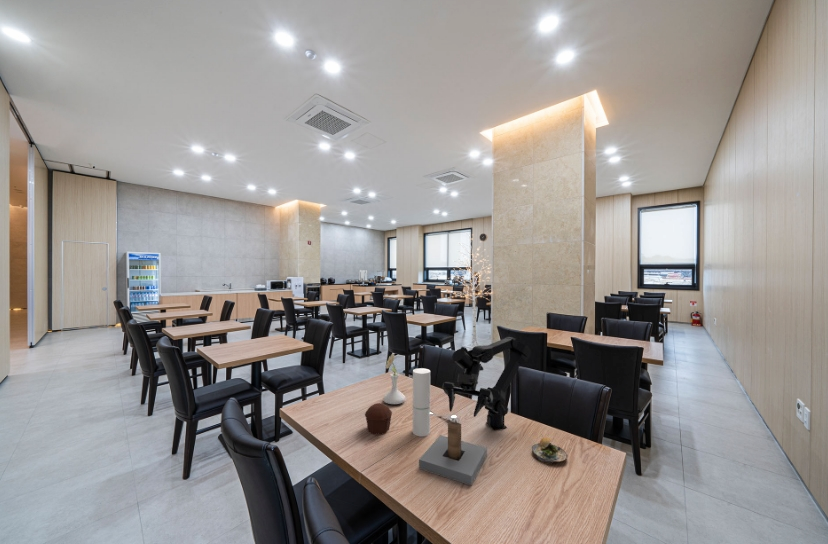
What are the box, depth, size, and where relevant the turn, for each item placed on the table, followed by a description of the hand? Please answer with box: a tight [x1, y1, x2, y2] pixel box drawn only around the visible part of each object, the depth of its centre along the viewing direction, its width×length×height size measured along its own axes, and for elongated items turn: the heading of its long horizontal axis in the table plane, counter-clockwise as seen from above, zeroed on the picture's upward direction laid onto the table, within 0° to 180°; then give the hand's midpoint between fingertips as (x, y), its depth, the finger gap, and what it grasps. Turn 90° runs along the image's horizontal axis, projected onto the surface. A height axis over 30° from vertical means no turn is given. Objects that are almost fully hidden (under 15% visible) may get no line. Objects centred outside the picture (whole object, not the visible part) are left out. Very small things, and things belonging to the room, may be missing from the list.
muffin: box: [364, 402, 393, 436], centre depth 131 cm, size 12×11×10 cm
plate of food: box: [531, 433, 568, 466], centre depth 113 cm, size 12×12×8 cm
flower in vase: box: [382, 353, 406, 405], centre depth 158 cm, size 13×11×25 cm
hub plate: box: [418, 434, 488, 486], centre depth 108 cm, size 18×18×3 cm
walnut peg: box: [447, 420, 462, 461], centre depth 108 cm, size 4×4×13 cm
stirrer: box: [430, 409, 461, 423], centre depth 143 cm, size 20×4×5 cm
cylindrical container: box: [412, 367, 431, 437], centre depth 129 cm, size 7×7×25 cm
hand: (462, 413), depth 116 cm, fingers open, 9 cm apart
